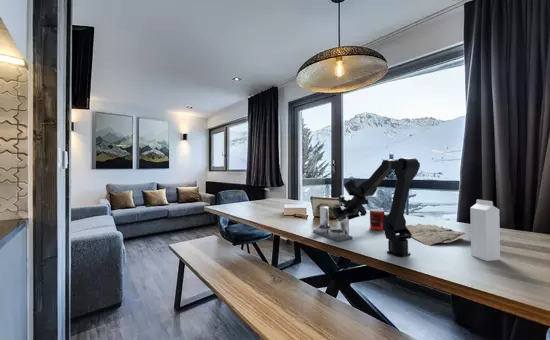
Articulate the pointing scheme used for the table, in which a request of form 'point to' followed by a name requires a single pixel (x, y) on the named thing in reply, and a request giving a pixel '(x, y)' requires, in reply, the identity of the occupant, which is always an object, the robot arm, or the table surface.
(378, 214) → the canned food
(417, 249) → the table surface
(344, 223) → the billet
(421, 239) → the stone slab
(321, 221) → the grey cylinder holder
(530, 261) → the table surface
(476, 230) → the milk
